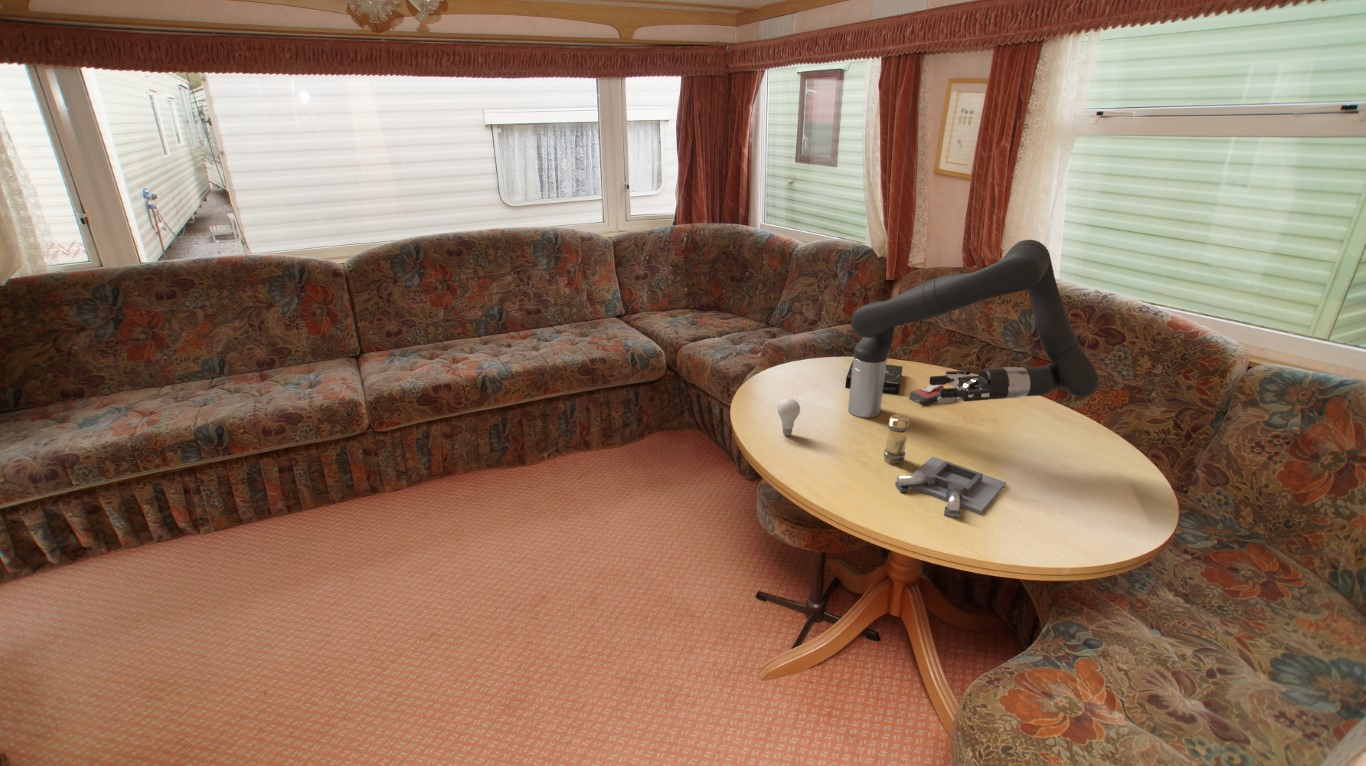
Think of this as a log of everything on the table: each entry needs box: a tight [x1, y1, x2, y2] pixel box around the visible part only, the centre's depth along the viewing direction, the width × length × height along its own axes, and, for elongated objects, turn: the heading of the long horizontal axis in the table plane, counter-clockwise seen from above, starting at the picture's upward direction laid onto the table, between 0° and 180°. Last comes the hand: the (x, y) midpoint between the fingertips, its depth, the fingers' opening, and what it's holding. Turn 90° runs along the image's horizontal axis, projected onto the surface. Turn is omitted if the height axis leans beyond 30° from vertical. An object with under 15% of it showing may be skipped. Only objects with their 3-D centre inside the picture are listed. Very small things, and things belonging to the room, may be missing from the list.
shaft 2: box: [943, 483, 963, 519], centre depth 141 cm, size 8×3×4 cm, turn 156°
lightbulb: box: [776, 397, 801, 437], centre depth 172 cm, size 6×6×11 cm
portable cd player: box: [844, 360, 903, 396], centre depth 208 cm, size 16×17×4 cm
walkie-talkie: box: [908, 384, 958, 407], centre depth 195 cm, size 9×4×20 cm
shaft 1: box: [894, 470, 936, 494], centre depth 148 cm, size 8×3×4 cm, turn 96°
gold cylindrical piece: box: [883, 414, 910, 466], centre depth 158 cm, size 5×5×12 cm
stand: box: [908, 456, 1007, 516], centre depth 149 cm, size 16×18×3 cm
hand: (935, 387), depth 153 cm, fingers open, 8 cm apart
